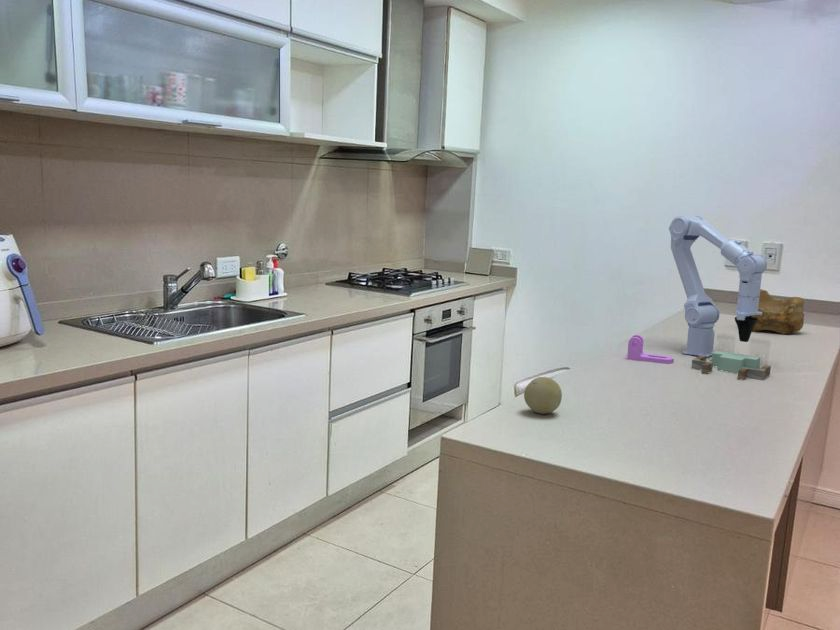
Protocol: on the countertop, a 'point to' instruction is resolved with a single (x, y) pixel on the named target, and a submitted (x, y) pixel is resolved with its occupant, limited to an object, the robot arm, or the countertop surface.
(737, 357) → the t slider
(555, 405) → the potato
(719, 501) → the countertop surface
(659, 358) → the bracket
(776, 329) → the rough brown rock
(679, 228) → the robot arm
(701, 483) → the countertop surface
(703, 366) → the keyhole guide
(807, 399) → the countertop surface
